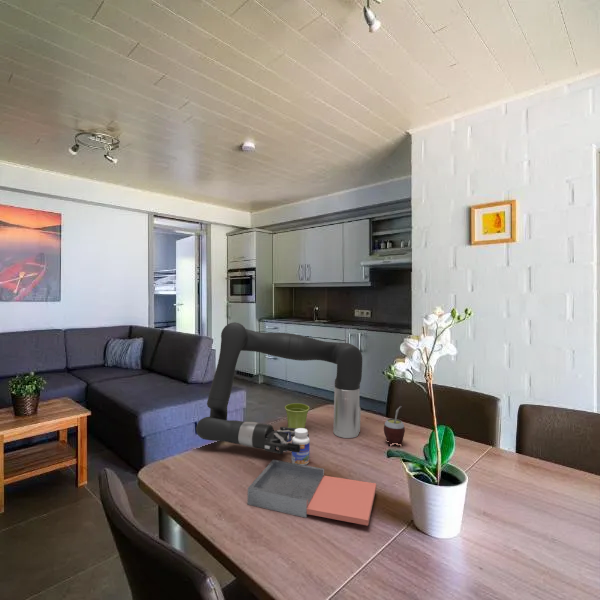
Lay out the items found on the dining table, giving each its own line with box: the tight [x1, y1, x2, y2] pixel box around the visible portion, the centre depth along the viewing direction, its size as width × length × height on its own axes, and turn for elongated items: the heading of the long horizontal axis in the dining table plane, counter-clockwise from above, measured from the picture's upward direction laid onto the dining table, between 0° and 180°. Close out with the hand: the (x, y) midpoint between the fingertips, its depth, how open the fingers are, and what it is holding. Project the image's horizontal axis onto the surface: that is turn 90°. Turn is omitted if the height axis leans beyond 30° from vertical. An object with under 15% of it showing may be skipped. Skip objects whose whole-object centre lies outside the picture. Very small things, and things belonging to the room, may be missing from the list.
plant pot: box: [284, 402, 311, 429], centre depth 135 cm, size 9×9×9 cm
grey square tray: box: [247, 459, 325, 519], centre depth 92 cm, size 15×16×4 cm
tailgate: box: [307, 475, 377, 526], centre depth 88 cm, size 2×16×14 cm
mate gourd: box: [383, 405, 406, 445], centre depth 124 cm, size 8×8×15 cm
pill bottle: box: [291, 428, 311, 466], centre depth 109 cm, size 5×5×10 cm
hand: (304, 442), depth 109 cm, fingers open, 8 cm apart
